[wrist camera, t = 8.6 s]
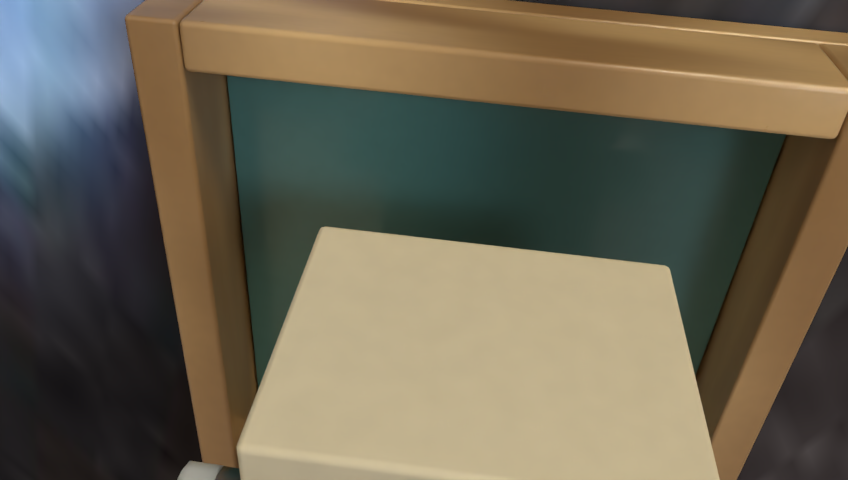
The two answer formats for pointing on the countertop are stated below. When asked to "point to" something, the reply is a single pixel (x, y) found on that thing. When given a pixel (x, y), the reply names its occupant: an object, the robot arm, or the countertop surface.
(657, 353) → the beige rectangular block
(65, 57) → the countertop surface
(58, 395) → the countertop surface
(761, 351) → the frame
